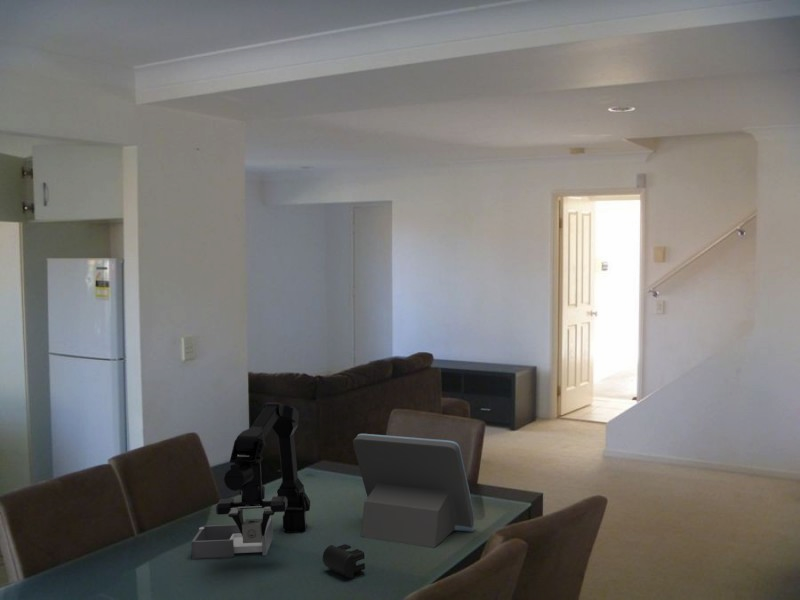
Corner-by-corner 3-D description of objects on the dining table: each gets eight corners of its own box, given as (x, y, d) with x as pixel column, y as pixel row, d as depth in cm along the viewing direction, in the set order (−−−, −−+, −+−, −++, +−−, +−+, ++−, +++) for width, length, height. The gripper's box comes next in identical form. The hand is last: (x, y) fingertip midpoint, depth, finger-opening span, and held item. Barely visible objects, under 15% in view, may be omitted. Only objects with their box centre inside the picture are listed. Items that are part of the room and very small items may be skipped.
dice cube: (246, 536, 223) (245, 519, 223) (264, 536, 223) (263, 518, 223) (242, 543, 218) (242, 525, 218) (261, 542, 218) (260, 524, 218)
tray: (272, 538, 242) (272, 517, 242) (266, 555, 228) (265, 533, 228) (233, 540, 242) (232, 519, 241) (224, 557, 228) (223, 535, 227)
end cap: (322, 572, 215) (321, 547, 215) (344, 565, 220) (343, 540, 219) (344, 582, 207) (343, 557, 207) (366, 575, 212) (365, 550, 212)
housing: (242, 540, 242) (241, 523, 242) (233, 557, 228) (232, 539, 228) (202, 542, 242) (201, 524, 241) (190, 559, 228) (189, 541, 227)
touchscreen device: (477, 528, 244) (472, 432, 242) (451, 552, 227) (445, 449, 225) (377, 515, 261) (372, 425, 258) (346, 536, 244) (340, 440, 241)
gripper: (288, 470, 228) (291, 524, 229) (222, 473, 228) (225, 527, 228) (283, 481, 217) (286, 538, 218) (214, 484, 216) (217, 541, 217)
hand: (253, 535), depth 221 cm, fingers closed on dice cube, 5 cm apart
